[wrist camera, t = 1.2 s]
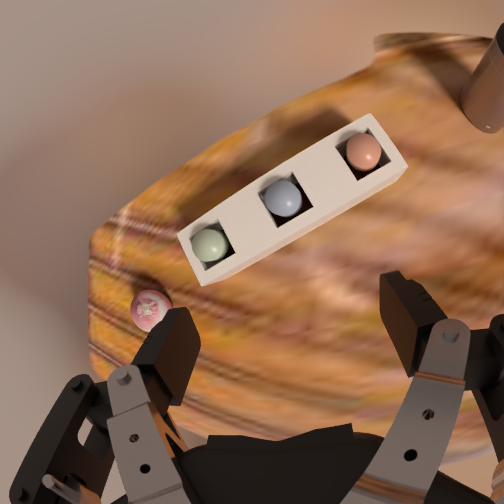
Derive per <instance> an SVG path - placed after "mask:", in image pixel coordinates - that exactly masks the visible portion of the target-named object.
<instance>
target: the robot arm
mask: <svg viewBox="0 0 504 504" xmlns="http://www.w3.org/2000/svg"><path fill="white" fill-rule="evenodd" d="M460 103H461V107H462V109H463V111H464V113H465V115H466V116H467V118H468V119H469V120H470V122H471V123H472V124H473V125H474V126H476V127H477V128H478V129H480V130H482V131H483V132H486V133H496V132H497V131H499V130H500V129H501V128H502V127H504V23H502V25H501V26H500V27H499V29H498V31H497V33H496V35H495V37H494V39H493V40H492V42H491V44H490V46H489V48H488V49H487V51H486V53H485V54H484V56H483V58H482V59H481V61H480V63H479V64H478V66H477V67H476V69H475V71H474V72H473V74H472V75H471V77H470V79H469V80H468V81H467V83H466V85H465V86H464V88H463V89H462V91H461V93H460ZM380 314H381V318H382V321H383V323H384V325H385V327H386V329H387V332H388V334H389V336H390V338H391V340H392V342H393V344H394V346H395V349H396V351H397V353H398V355H399V357H400V360H401V362H402V364H403V366H404V369H405V371H406V373H407V376H408V378H409V377H413V376H414V378H413V380H412V382H411V385H410V387H409V390H408V392H407V394H406V397H405V399H404V401H403V403H402V405H401V407H400V410H399V412H398V414H397V416H396V418H395V420H394V422H393V424H392V426H391V428H390V430H389V431H388V433H387V435H386V437H385V438H384V437H381V436H378V435H374V434H369V433H361V432H353V429H352V423H349V424H344V425H339V426H333V427H327V428H321V429H315V430H312V431H309V432H306V433H303V434H300V435H297V436H294V437H291V438H288V439H284V440H281V441H271V440H264V439H258V438H253V437H248V436H242V435H209V436H208V440H207V444H205V445H201V446H198V447H195V448H192V449H188V447H187V446H186V444H185V442H184V440H183V438H182V437H181V435H180V433H179V431H178V429H177V427H176V425H175V423H174V421H173V419H172V417H171V415H170V413H169V412H168V411H167V410H168V407H169V405H171V406H181V403H182V400H183V397H184V394H185V391H186V388H187V385H188V382H189V379H190V376H191V374H192V371H193V368H194V365H195V362H196V359H197V356H198V353H199V351H200V347H201V341H200V336H199V333H198V331H197V329H196V326H195V324H194V322H193V319H192V317H191V314H190V312H189V310H188V309H187V308H186V307H180V308H172V309H168V311H167V312H166V314H165V316H164V317H163V319H162V321H159V322H158V323H157V324H156V325H155V326H154V327H153V328H152V329H151V331H150V332H149V334H148V336H147V338H146V339H145V341H144V342H143V343H144V344H142V346H141V347H140V349H139V351H138V352H137V354H136V356H135V357H134V359H133V361H132V363H131V364H130V365H124V366H121V367H119V368H117V369H116V370H114V371H113V372H112V373H111V374H110V376H109V377H108V380H107V381H104V382H99V383H94V382H93V380H92V379H91V378H90V376H89V375H87V374H81V375H77V376H75V377H74V378H72V379H71V380H70V381H69V382H68V383H67V385H66V386H65V388H64V389H63V391H62V393H61V394H60V396H59V397H58V399H57V401H56V402H55V404H54V406H53V407H52V409H51V411H50V412H49V414H48V416H47V417H46V419H45V421H44V423H43V425H42V426H41V428H40V430H39V432H38V433H37V435H36V437H35V439H34V441H33V442H32V444H31V446H30V448H29V450H28V452H27V454H26V456H25V458H24V460H23V462H22V464H21V466H20V468H19V470H18V472H17V474H16V477H15V479H14V481H13V483H12V485H11V488H10V491H9V498H10V502H11V504H101V500H100V499H101V496H102V493H103V490H104V487H105V484H106V481H107V479H108V476H109V473H110V469H111V467H112V464H113V461H114V458H115V459H116V462H117V466H118V469H119V473H120V476H121V479H122V482H123V485H124V488H125V491H126V494H125V495H123V496H122V497H120V498H119V499H117V500H116V501H114V502H112V503H111V504H504V314H500V315H497V316H495V317H494V318H493V319H492V320H491V323H490V326H489V328H488V329H478V330H470V329H469V327H468V326H467V325H466V324H465V323H464V322H462V321H460V320H457V319H448V317H447V316H446V315H445V313H444V312H443V311H442V310H441V308H440V307H439V306H438V304H437V303H436V302H435V301H434V299H432V297H431V296H430V295H429V293H427V291H426V290H425V288H424V287H423V286H422V285H421V284H419V283H417V282H416V281H414V280H412V279H411V280H406V279H405V278H404V277H403V275H402V274H401V273H400V272H399V271H398V270H396V271H392V272H387V273H383V274H380ZM467 390H471V391H472V393H473V395H474V397H475V400H476V402H477V404H478V407H479V409H480V411H481V414H482V416H483V419H484V421H485V424H486V427H487V429H488V432H489V435H490V438H491V440H492V443H493V446H494V449H495V452H496V456H497V459H498V462H499V464H498V465H497V467H496V469H495V471H494V474H493V482H492V489H493V491H492V495H491V497H490V498H489V497H487V496H485V495H483V494H481V493H479V492H477V491H475V490H473V489H471V488H469V487H468V486H465V485H464V484H462V483H460V482H458V481H456V480H454V479H453V478H451V477H449V476H447V475H445V474H444V473H442V472H440V471H439V470H438V468H439V466H440V463H441V461H442V458H443V456H444V453H445V451H446V448H447V445H448V443H449V440H450V437H451V434H452V431H453V428H454V425H455V422H456V418H457V415H458V411H459V408H460V404H461V400H462V396H463V392H464V391H467ZM85 417H86V418H87V419H88V420H89V422H90V423H91V424H92V425H93V426H92V429H91V431H90V433H89V435H88V437H87V440H86V442H85V444H84V446H82V445H81V444H80V443H79V441H78V431H79V429H80V427H81V425H82V423H83V421H84V419H85Z"/></svg>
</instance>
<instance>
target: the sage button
mask: <svg viewBox="0 0 504 504" xmlns="http://www.w3.org/2000/svg"><path fill="white" fill-rule="evenodd" d="M228 246H229V244H228V239H227V237H226V236H225V234H224V233H223V232H221V231H219V230H210V229H203V230H200V231H199V232H197V233H196V234H195V236H194V238H193V241H192V250H193V253H194V255H195V256H196V257H197V258H198V259H199V260H201V261H205V262H208V261H214V260H219V259H221V258H223V257H224V256H225V255H226V253H227V251H228Z"/></svg>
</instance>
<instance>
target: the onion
mask: <svg viewBox="0 0 504 504" xmlns="http://www.w3.org/2000/svg"><path fill="white" fill-rule="evenodd" d="M172 308H173V306H172V304H171V302H170V300H169V299H168V298H167V297H166V296H165V295H164V294H163V293H161V292H159V291H157V290H142V291H140V292H139V293H138V294H137V295H136V296H135V297H134V299H133V300H132V303H131V307H130V312H131V316H132V319H133V321H134V322H135V324H136V325H137V326H138V327H139V328H141V329H142V330H144V331H147V332H150V331H151V329H152V328H153V327H154V326H155V325H156V324H157V323H158V322H159V321H162V319H163V317H164V316H165V314H166V312H167V311H168V309H172Z"/></svg>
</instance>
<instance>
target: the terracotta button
mask: <svg viewBox="0 0 504 504" xmlns="http://www.w3.org/2000/svg"><path fill="white" fill-rule="evenodd" d="M380 155H381V147H380V144H379V142H378V141H377V140H376V139H375V138H374V137H373V136H371V135H369V134H366V133H358V134H355V135H353V136H352V137H351V138H350V139H349V141H348V143H347V160H348V162H349V164H350V165H351V166H352V167H353V168H354V169H356V170H358V171H363V172H366V171H370V170H372V169H373V168H375V166H376V165H377V163H378V161H379V158H380Z"/></svg>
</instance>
